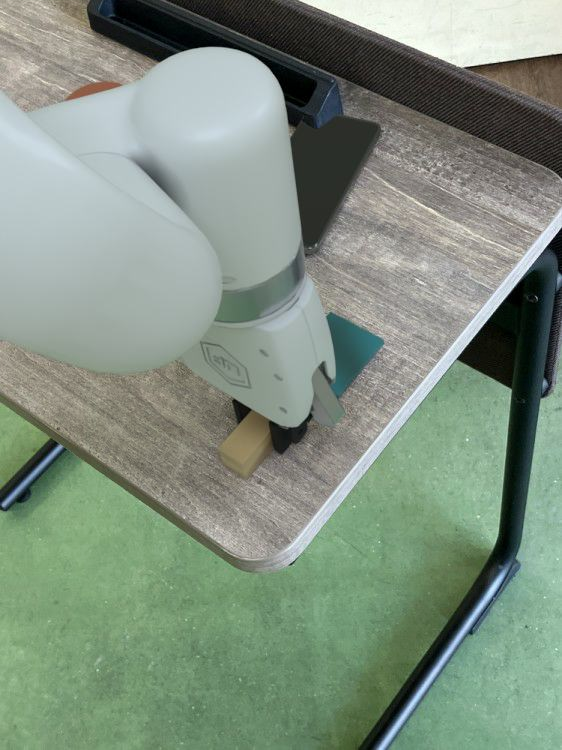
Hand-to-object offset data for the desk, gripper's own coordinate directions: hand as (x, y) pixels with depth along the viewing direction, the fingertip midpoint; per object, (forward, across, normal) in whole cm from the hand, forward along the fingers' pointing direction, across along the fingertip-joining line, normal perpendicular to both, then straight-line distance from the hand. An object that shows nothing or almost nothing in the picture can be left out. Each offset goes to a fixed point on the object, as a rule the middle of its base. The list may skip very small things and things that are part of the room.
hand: (273, 425), depth 69 cm
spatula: (0, 0, +3) cm, 3 cm away
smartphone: (0, -12, +21) cm, 24 cm away
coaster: (0, -35, +18) cm, 40 cm away
